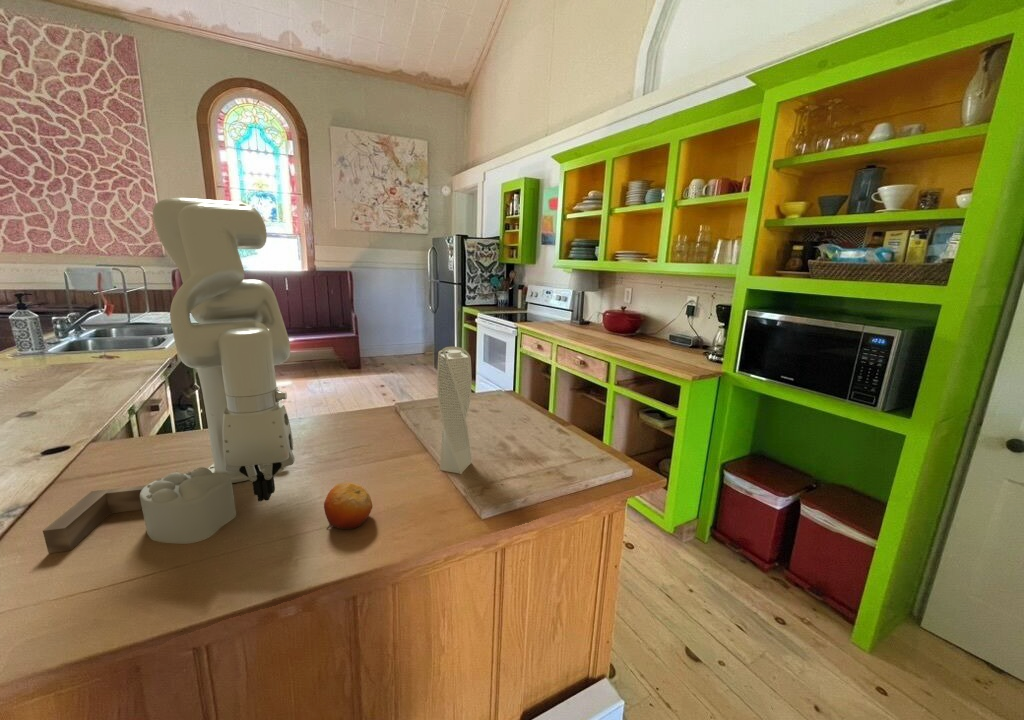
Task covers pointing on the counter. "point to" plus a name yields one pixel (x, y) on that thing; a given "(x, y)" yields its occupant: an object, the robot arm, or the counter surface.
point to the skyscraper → (454, 407)
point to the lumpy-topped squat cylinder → (187, 506)
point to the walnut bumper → (89, 516)
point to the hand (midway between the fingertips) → (265, 496)
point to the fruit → (347, 506)
